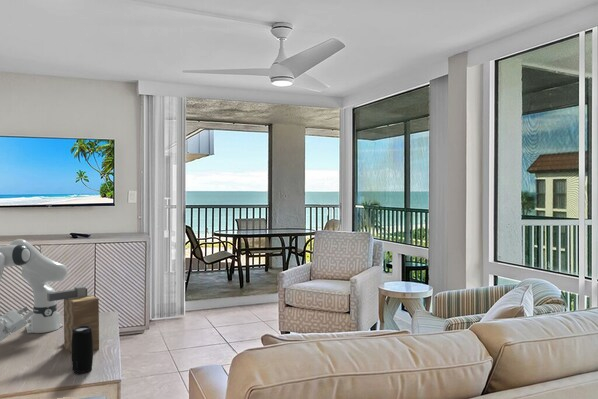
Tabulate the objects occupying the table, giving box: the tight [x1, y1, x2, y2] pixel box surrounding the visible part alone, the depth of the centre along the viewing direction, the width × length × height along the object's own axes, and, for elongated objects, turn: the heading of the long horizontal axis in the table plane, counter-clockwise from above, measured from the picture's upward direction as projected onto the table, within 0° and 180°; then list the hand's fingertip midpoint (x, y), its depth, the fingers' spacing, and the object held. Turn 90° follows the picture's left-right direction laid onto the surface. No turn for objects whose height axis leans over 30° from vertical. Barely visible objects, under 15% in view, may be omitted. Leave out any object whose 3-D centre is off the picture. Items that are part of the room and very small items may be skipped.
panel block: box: [63, 293, 100, 354], centre depth 236 cm, size 15×12×26 cm
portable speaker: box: [71, 325, 94, 375], centre depth 207 cm, size 9×9×20 cm
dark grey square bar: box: [47, 285, 88, 302], centre depth 235 cm, size 5×18×5 cm, turn 134°
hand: (29, 309), depth 223 cm, fingers open, 8 cm apart
